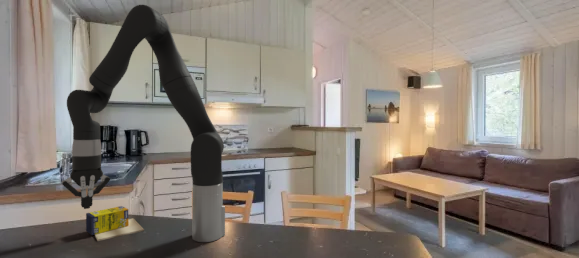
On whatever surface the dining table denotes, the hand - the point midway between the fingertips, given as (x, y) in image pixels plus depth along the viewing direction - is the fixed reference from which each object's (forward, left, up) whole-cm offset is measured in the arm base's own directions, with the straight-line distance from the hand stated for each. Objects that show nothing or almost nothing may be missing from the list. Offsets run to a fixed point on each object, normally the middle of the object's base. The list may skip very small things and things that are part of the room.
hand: (86, 208), depth 91 cm
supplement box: (0, 0, -5) cm, 5 cm away
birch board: (-8, 0, -9) cm, 12 cm away
